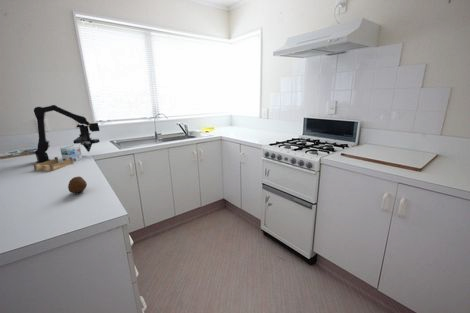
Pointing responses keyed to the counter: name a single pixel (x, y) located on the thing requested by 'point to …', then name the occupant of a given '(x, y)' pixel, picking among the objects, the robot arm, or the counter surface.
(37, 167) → the wooden frame
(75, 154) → the light bulb box
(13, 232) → the counter surface
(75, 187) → the potato
